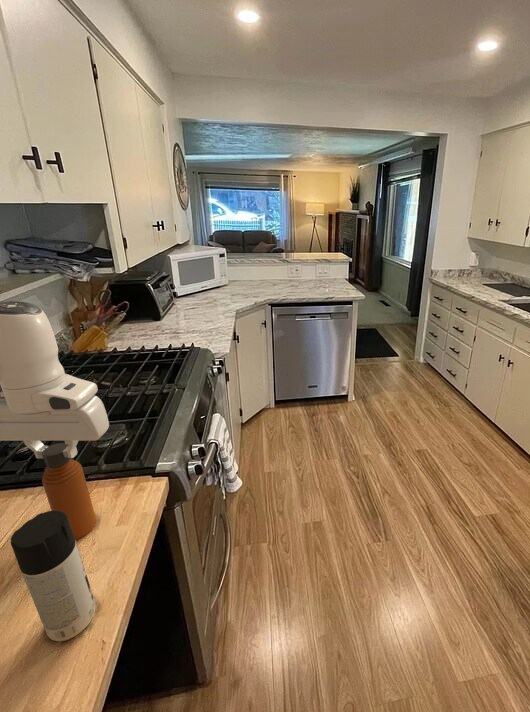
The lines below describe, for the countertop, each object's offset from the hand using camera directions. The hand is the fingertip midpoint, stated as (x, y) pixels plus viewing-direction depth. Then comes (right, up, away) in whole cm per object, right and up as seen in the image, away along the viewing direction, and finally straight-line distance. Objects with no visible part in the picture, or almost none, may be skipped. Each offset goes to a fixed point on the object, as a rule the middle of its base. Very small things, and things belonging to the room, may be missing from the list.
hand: (57, 456), depth 68 cm
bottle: (0, -17, +6) cm, 18 cm away
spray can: (+10, -23, -10) cm, 27 cm away
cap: (0, -1, 0) cm, 1 cm away
